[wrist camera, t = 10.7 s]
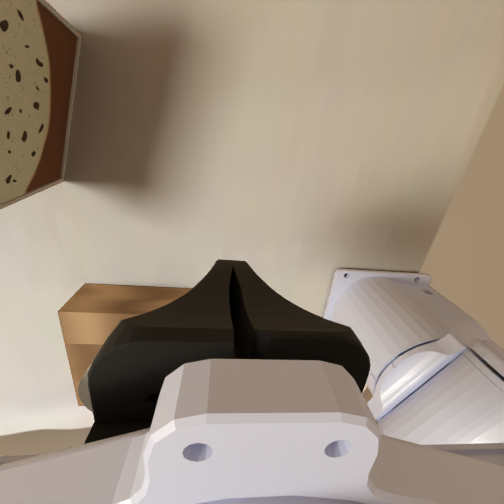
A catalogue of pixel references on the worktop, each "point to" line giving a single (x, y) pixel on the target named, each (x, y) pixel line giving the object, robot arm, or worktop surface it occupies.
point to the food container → (35, 96)
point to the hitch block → (104, 318)
